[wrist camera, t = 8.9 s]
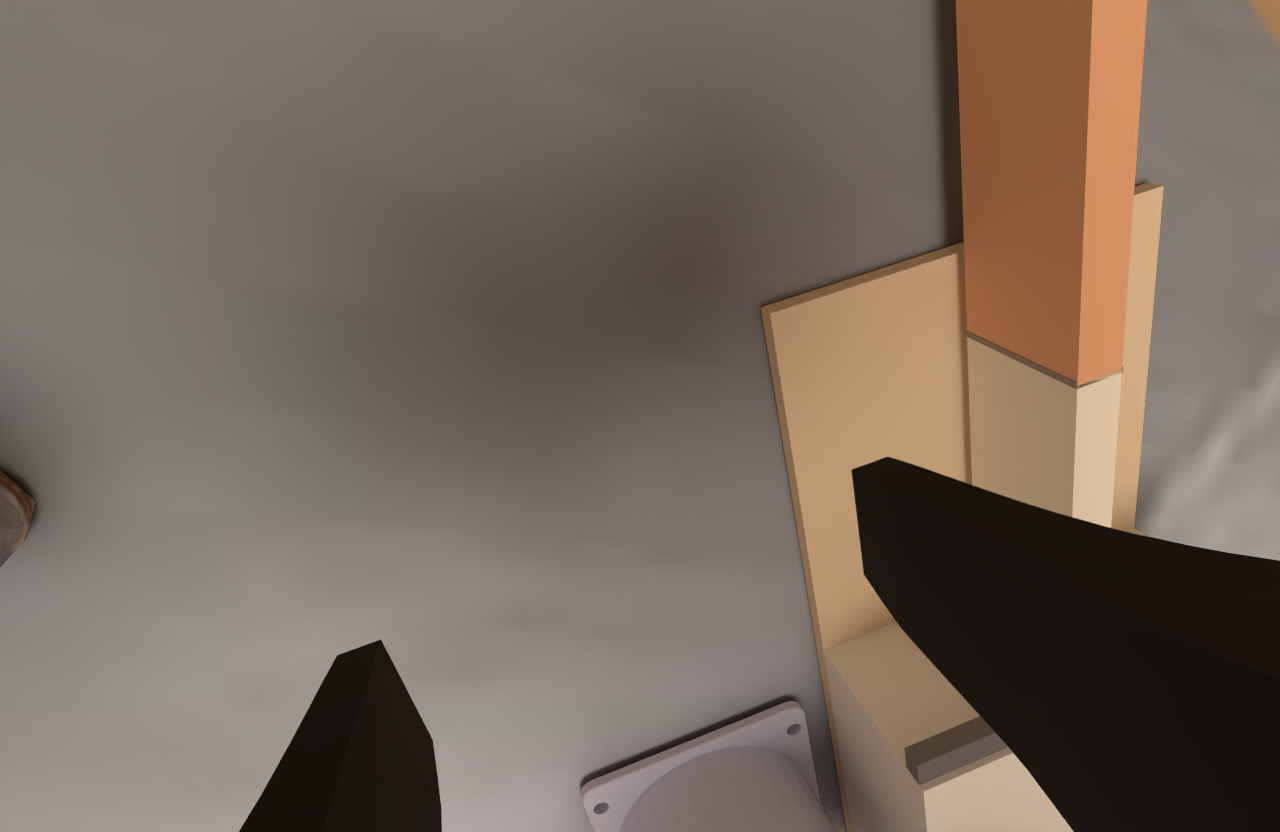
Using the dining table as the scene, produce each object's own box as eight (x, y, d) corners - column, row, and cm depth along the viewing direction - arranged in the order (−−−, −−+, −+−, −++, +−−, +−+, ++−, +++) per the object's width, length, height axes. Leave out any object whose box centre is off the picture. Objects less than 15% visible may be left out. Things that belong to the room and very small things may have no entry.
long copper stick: (1007, 546, 25) (1105, 624, 22) (973, 559, 25) (1066, 640, 21) (1001, -213, 16) (1168, -292, 12) (947, -200, 16) (1101, -276, 12)
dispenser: (1104, 728, 33) (1244, 861, 27) (847, 839, 31) (942, 1005, 25) (1145, 183, 22) (1387, 220, 17) (760, 307, 20) (888, 394, 15)
